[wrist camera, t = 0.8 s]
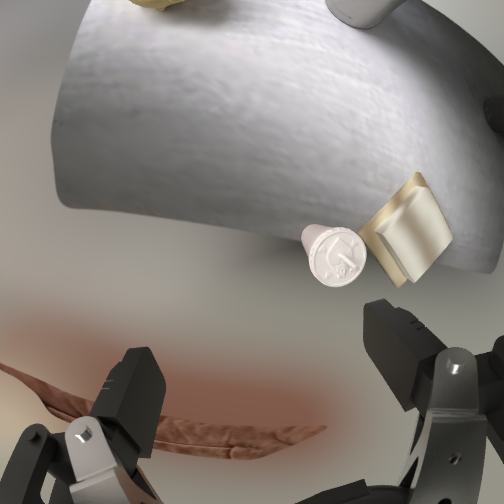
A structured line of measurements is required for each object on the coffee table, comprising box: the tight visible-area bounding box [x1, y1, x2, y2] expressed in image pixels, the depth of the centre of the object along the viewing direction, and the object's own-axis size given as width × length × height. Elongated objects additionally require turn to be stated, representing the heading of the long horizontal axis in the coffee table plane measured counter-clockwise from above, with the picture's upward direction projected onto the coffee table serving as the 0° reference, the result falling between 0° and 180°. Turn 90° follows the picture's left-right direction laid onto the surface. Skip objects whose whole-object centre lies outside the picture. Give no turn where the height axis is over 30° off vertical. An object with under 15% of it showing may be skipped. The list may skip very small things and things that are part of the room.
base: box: [357, 172, 453, 288], centre depth 35 cm, size 14×12×4 cm
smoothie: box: [301, 224, 366, 287], centre depth 30 cm, size 6×6×14 cm
